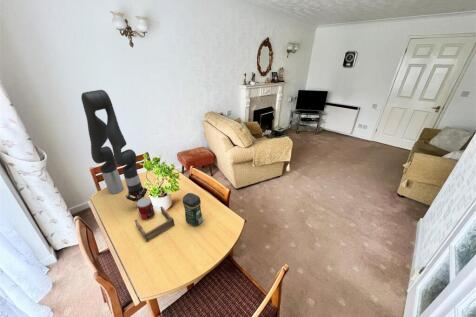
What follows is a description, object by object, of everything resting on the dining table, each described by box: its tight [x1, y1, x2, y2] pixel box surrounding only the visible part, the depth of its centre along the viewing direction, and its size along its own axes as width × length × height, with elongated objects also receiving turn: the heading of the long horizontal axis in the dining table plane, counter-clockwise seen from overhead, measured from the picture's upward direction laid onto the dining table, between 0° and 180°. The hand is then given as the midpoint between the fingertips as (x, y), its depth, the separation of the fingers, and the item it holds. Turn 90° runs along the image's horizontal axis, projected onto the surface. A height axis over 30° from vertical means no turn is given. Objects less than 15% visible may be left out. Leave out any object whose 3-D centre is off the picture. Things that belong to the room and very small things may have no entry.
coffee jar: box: [182, 192, 204, 227], centre depth 111 cm, size 10×8×19 cm
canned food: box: [136, 197, 155, 221], centre depth 116 cm, size 8×8×11 cm
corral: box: [134, 206, 175, 243], centre depth 111 cm, size 14×16×5 cm
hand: (140, 203), depth 125 cm, fingers closed
